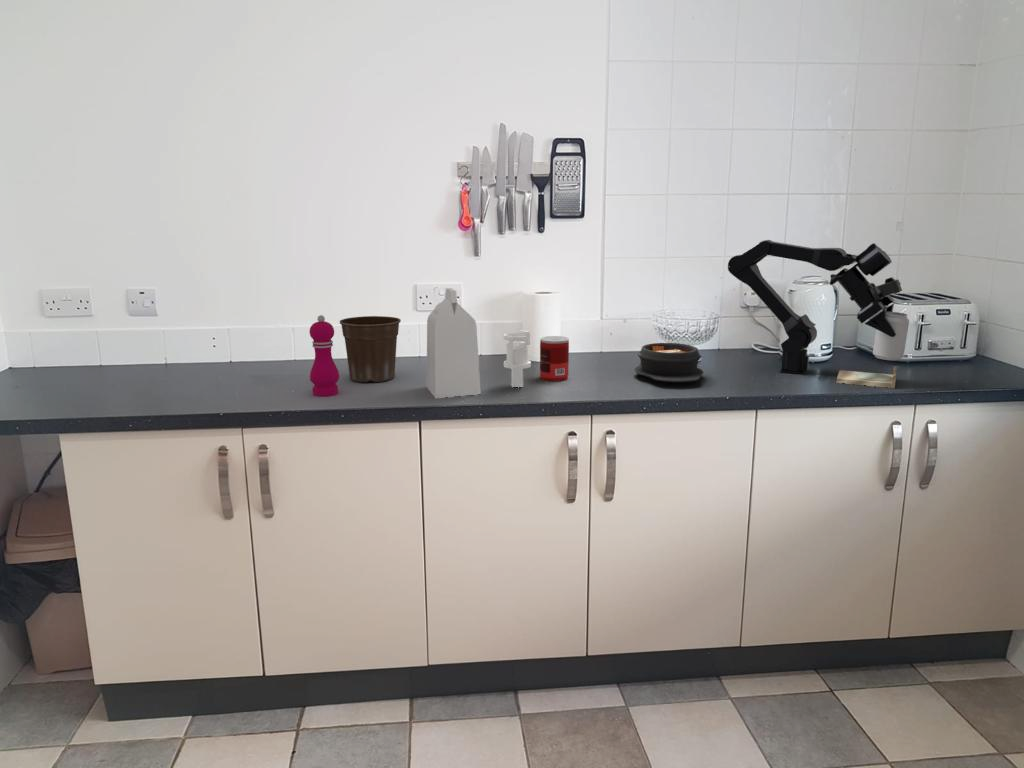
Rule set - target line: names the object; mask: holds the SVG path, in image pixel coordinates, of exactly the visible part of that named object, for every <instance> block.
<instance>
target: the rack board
mask: <svg viewBox="0 0 1024 768" xmlns="http://www.w3.org/2000/svg"><path fill="white" fill-rule="evenodd" d="M892 371H893V373H892V374H889V373H888V374H887V373H877V372H876V373H875V372H865V371H855V370H854V371H852V370H844V369H843V370H842V369H839V370H838V374H837V377H836V381H835V383H836V384H842V383H845V384H844V385H853V384H855V386H864V385H866V386H865V387H867V386H868V387H874V386H876V387H877V388H885V387H888V389H895V387H896V382H897V381H896V378H897V367H893V370H892ZM876 387H875V388H876Z"/></svg>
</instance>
